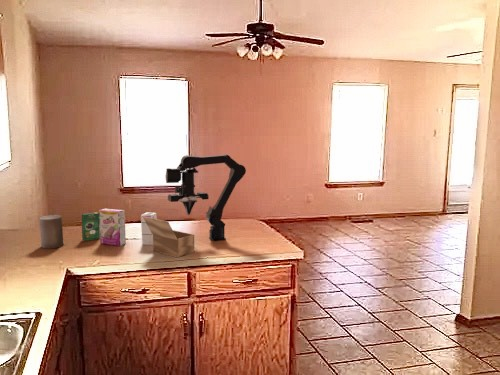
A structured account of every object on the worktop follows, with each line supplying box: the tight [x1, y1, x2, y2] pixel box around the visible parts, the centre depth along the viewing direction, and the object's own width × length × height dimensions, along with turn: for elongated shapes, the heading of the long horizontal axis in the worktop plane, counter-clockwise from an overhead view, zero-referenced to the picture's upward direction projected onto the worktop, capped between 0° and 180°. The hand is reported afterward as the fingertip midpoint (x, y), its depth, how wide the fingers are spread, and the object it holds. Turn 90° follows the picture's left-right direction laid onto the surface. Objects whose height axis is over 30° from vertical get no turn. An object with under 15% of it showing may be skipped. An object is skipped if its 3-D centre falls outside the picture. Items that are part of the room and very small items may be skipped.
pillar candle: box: [39, 213, 64, 249], centre depth 227 cm, size 10×10×15 cm
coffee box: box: [81, 211, 100, 242], centre depth 239 cm, size 8×3×13 cm, turn 129°
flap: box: [143, 216, 177, 240], centre depth 212 cm, size 10×16×1 cm
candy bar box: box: [98, 208, 127, 247], centre depth 230 cm, size 11×5×16 cm, turn 71°
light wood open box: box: [152, 229, 196, 258], centre depth 219 cm, size 10×16×8 cm, turn 51°
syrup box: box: [140, 211, 158, 246], centre depth 232 cm, size 6×6×14 cm
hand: (188, 214), depth 235 cm, fingers closed
